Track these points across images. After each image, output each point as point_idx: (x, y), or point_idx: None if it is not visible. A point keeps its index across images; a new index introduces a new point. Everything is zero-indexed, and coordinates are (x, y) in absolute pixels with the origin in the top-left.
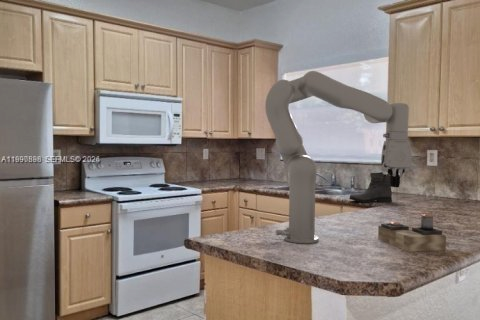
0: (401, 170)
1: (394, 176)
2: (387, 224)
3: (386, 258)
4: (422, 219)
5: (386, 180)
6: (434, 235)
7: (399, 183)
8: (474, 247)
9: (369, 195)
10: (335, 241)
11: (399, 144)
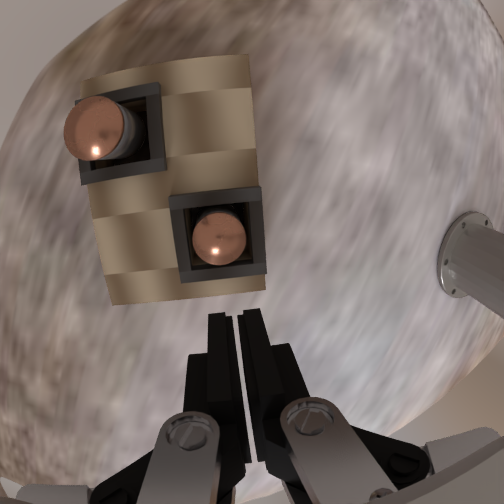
0: (162, 502)
1: (285, 414)
2: (241, 264)
3: (348, 21)
4: (128, 120)
5: None
6: (122, 78)
7: (193, 357)
8: (5, 141)
9: None
10: (406, 236)
11: None
